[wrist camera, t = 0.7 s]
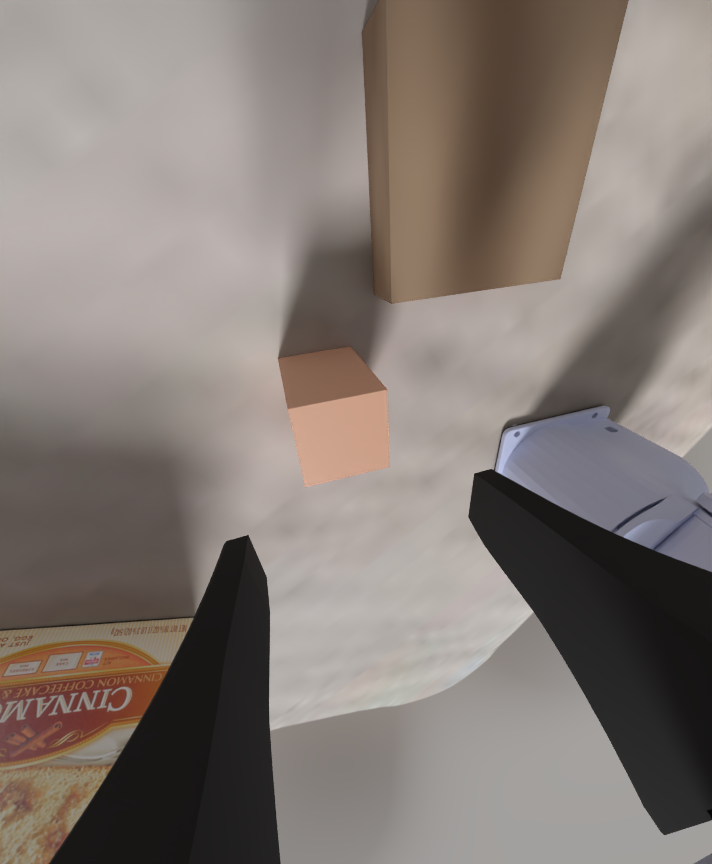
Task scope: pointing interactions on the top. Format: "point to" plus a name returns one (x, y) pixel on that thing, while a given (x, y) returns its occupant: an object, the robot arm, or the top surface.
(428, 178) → the walnut base block
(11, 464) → the top surface
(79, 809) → the coffeecake box
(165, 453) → the top surface
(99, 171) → the top surface
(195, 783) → the robot arm
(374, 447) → the terracotta block
